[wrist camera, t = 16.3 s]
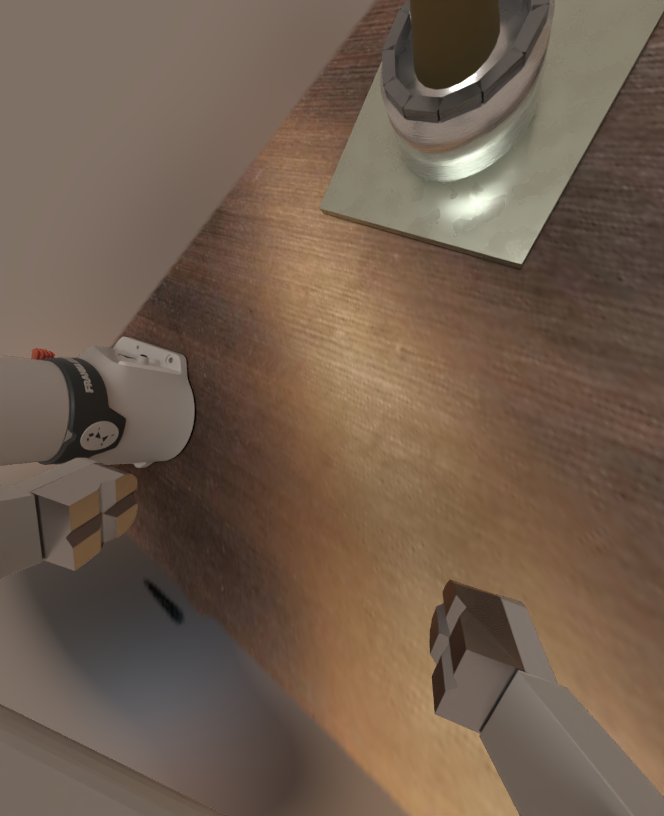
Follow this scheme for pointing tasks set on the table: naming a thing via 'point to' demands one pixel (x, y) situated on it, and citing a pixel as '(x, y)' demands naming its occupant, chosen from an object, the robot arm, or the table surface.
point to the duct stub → (489, 128)
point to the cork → (452, 39)
